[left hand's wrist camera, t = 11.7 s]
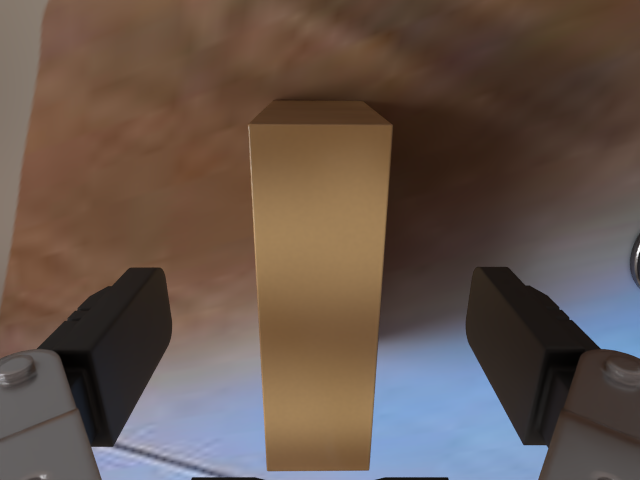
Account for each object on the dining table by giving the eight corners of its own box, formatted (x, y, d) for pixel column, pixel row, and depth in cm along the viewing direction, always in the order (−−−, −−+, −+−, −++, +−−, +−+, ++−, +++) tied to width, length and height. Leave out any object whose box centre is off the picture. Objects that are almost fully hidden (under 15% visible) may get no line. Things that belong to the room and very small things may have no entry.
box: (273, 100, 29) (247, 123, 18) (362, 100, 30) (393, 124, 18) (281, 346, 37) (266, 471, 26) (352, 346, 37) (369, 471, 26)
